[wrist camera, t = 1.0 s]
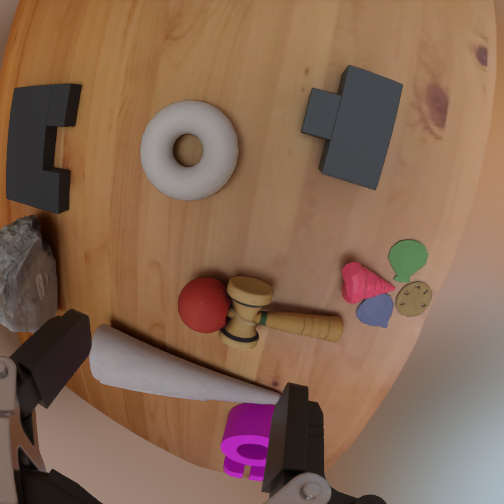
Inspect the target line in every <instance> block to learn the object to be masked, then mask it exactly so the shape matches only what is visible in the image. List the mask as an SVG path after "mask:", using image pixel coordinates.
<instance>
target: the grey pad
mask: <svg viewBox="0 0 504 504" xmlns="http://www.w3.org/2000/svg"><path fill="white" fill-rule="evenodd" d="M402 88H403V84H400V83H398V82H396V81H393V80H391V79H388V78H385V77H383V76H380V75H377V74H375V73H372V72H369V71H366V70H363V69H360V68H357V67H354V66H351V65H349V66H348V67H347V68H346V70H345V71H344V72H343V74H342V76H341V81H340V85H339V89H338V93H337V94H334V93H330V92H327V91H323V90H320V89H316V88H312V90H311V93H310V97H309V101H308V105H307V109H306V113H305V117H304V121H303V125H302V129H301V133H304V134H308V135H312V136H315V137H319V138H322V139H326V141H325V145H324V149H323V153H322V156H321V160H320V164H319V168H318V169H319V170H320V171H321V173H322V174H325V175H328V176H332V177H335V178H338V179H341V180H345V181H348V182H351V183H354V184H357V185H361V186H364V187H367V188H370V189H373V190H376V188H377V185H378V182H379V178H380V175H381V171H382V168H383V165H384V161H385V157H386V154H387V150H388V146H389V143H390V139H391V135H392V131H393V127H394V123H395V119H396V115H397V110H398V106H399V102H400V97H401V92H402Z"/></svg>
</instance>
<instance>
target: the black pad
mask: <svg viewBox="0 0 504 504" xmlns="http://www.w3.org/2000/svg"><path fill="white" fill-rule="evenodd" d="M81 87H82V85H79V84H53V85H40V86H29V87H20V88H14V93H13V99H12V106H11V113H10V121H9V131H8V144H7V163H6V199H10V200H13V201H16V202H19V203H23V204H26V205H29V206H33V207H36V208H39V209H43V210H46V211H49V212H53V213H56V214H60V213H62V212H64V211H67V210H69V184H70V170H65V169H59V168H54V167H53V164H54V151H55V141H56V132H57V126H59V127H68V126H75V122H76V116H77V109H78V103H79V98H80V92H81Z"/></svg>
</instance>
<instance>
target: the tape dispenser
mask: <svg viewBox="0 0 504 504" xmlns="http://www.w3.org/2000/svg"><path fill="white" fill-rule="evenodd" d="M274 409H275V406H274V405H271V404H257V403H243V404H240V405H237V406H236V407H234V408H233V409H232V410H231V411H230V413H229V416H228V420H227V423H226V427H225V431H224V435H223V439H222V443H221V450H222V452H223V453H224V454H225V455H226V456H225V460H224V466H223V469H224V471H225V473H226V474H228V475H230V476H233V477H238V478H242V476H243V472H244V467H245V465H250V466H251V469H250V475H249V480H256V481H263V478H264V471H265V464H266V457H267V450H268V443H269V435H270V428H271V420H272V415H273V412H274Z"/></svg>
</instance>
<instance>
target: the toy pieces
mask: <svg viewBox="0 0 504 504" xmlns="http://www.w3.org/2000/svg"><path fill="white" fill-rule="evenodd" d="M427 256H428V253H427V250H426V248H425V246H424V245H423V244H421V243H420V242H418V241H415V240H403V241H399V242H398V243H397V244H395V245H394V246H393V247H392V248H391V251H390V254H389V257H388V258H389V260H390V263H391V265H392V267H393V269H394V271H395V272H396V274H397V276H396V277H395V278H394V280H396V281H398V282H409V281H410V279H409V276H411V275H412V274H414V273H416V272H417V271H418V270H419V269H420V268H421V267H423V266H424V265H425V264H426V261H427ZM342 277H343V279H344V283H343V287H342V296H343V298H344V299H345V300H346V302H348V303H352V304H355V303H357V302H360V301H361V300H362V299H366V300H365V301H364V302H363V303H362V304H361V305H360V306H359V308H358V309H357V318H358V319H359V320H360V321H361V322H362V323H364V324H367V325H370V326H381V327H383V328H386V327H387V326H388V320H389V318H390V316H391V314H392V310H393V302H392V299H391V297H390V296H388V295H386V294H384V293H387V292H388V291H390V292H391V291H393V290H395V287H394V286H392V285H391V284H389V283H387V282H386V281H385V280H383V279H382V278H381V277H379V276H377V275H376V274H374V273H373V272H371V271H370V270H369V269H367V268H365V267H362V266H361V265H360V263H359V262H352V263H349V264H346V265H345V267H344V268H343V270H342ZM415 286H419V288H417V287H415ZM425 290H427V292H425V293H423V292H424V291H425ZM405 291H407V292H408V293H407V294H405V293H404V292H405ZM431 299H432V292H431V289H430V287H429V286H428V285H427V284H425V283H422V282H415V283H411V284H409V285H407V286H405V287H404V288H403V289H402V290H401V292H400V293H399V294H398V296H397V300H396V308H397V310H398V312H399V313H400V314H401V315H405V316H407V317H410V316H417V315H419V314H421V313H422V312H424V311H425V310H426V309H427V307H428V306H429V303H430V301H431ZM400 303H404V304H403V305H400ZM422 303H423V304H425V306H422Z"/></svg>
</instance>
